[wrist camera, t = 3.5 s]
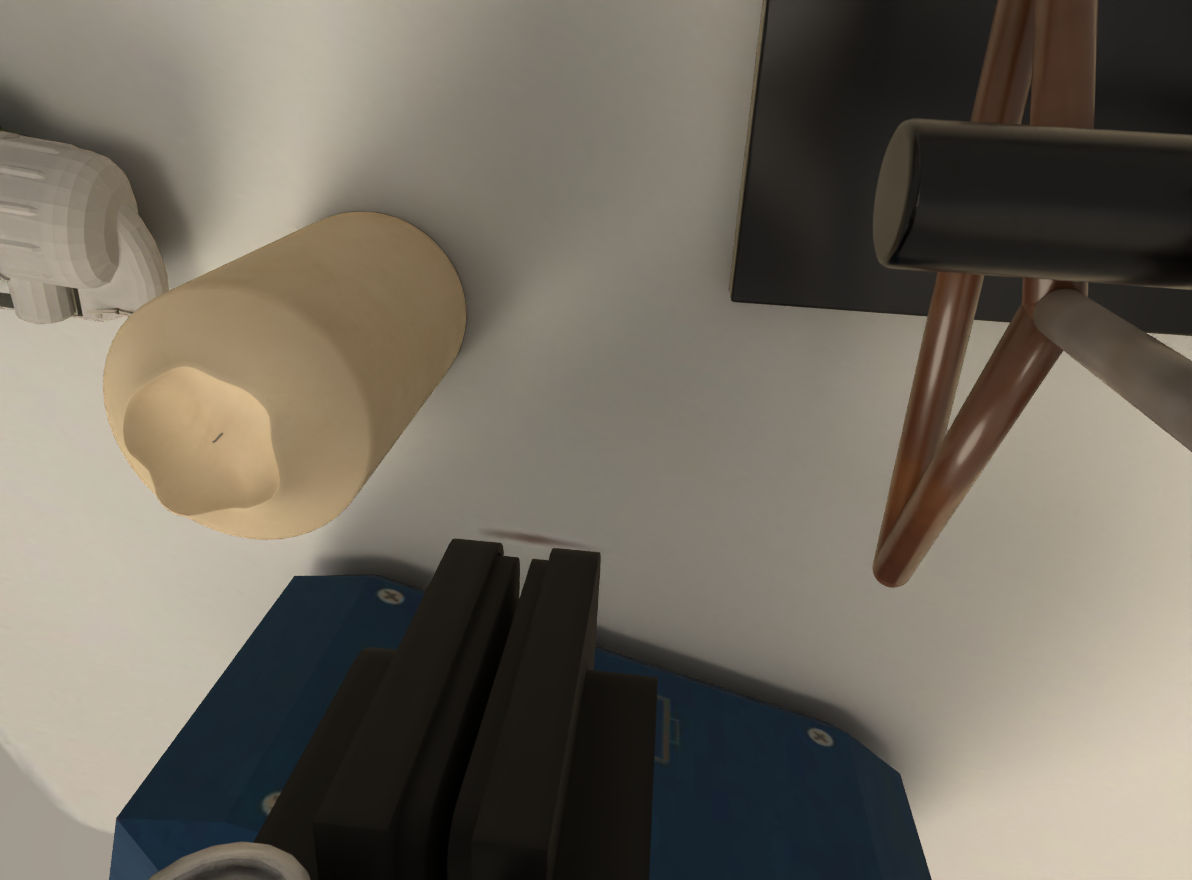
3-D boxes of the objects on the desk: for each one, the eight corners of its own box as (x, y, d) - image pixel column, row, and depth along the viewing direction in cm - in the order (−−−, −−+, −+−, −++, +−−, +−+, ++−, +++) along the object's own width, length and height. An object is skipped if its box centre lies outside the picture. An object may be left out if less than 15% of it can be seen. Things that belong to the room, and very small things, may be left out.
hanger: (1044, -248, 11) (1864, -919, 3) (1099, -245, 11) (2054, -920, 3) (865, 572, 16) (1028, 1035, 9) (902, 575, 16) (1098, 1043, 9)
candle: (505, 285, 24) (399, 427, 15) (410, 427, 26) (267, 626, 17) (336, 167, 23) (115, 242, 14) (252, 324, 25) (14, 476, 16)
